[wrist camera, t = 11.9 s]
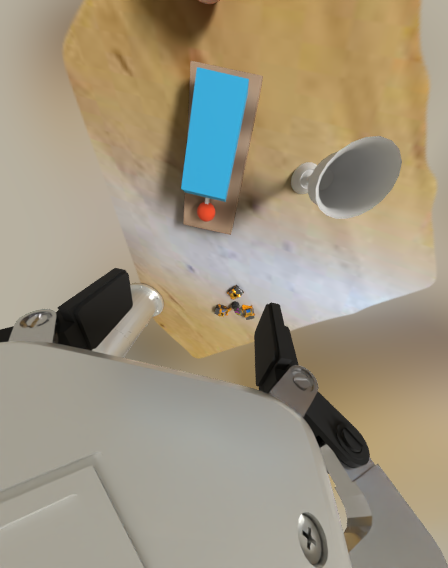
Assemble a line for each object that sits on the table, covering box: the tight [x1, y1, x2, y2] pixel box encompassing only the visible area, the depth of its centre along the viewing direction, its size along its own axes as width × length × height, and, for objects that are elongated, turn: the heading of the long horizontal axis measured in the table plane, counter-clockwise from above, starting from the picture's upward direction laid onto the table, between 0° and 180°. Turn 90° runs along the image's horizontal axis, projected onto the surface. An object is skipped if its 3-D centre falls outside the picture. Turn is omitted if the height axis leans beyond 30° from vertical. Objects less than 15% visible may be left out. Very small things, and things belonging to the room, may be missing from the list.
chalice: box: [291, 136, 402, 218], centre depth 24 cm, size 7×7×18 cm
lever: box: [181, 67, 249, 222], centre depth 28 cm, size 7×7×18 cm
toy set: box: [215, 285, 255, 320], centre depth 49 cm, size 12×11×5 cm
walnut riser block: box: [183, 61, 263, 235], centre depth 31 cm, size 22×10×4 cm, turn 170°
